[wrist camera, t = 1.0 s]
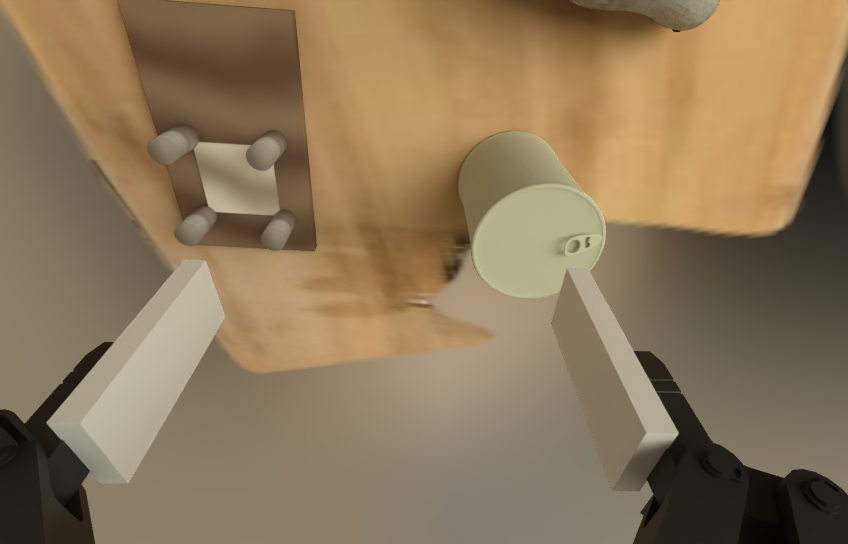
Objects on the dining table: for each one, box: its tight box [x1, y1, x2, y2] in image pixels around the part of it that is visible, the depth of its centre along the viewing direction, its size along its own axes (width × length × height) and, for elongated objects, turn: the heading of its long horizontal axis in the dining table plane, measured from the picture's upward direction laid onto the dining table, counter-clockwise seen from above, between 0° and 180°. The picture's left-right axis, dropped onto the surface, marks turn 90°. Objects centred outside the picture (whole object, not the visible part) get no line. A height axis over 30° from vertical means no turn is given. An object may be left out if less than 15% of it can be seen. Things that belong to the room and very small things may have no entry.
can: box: [458, 131, 606, 299], centre depth 32 cm, size 9×9×12 cm
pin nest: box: [117, 0, 317, 251], centre depth 33 cm, size 20×12×5 cm, turn 176°
